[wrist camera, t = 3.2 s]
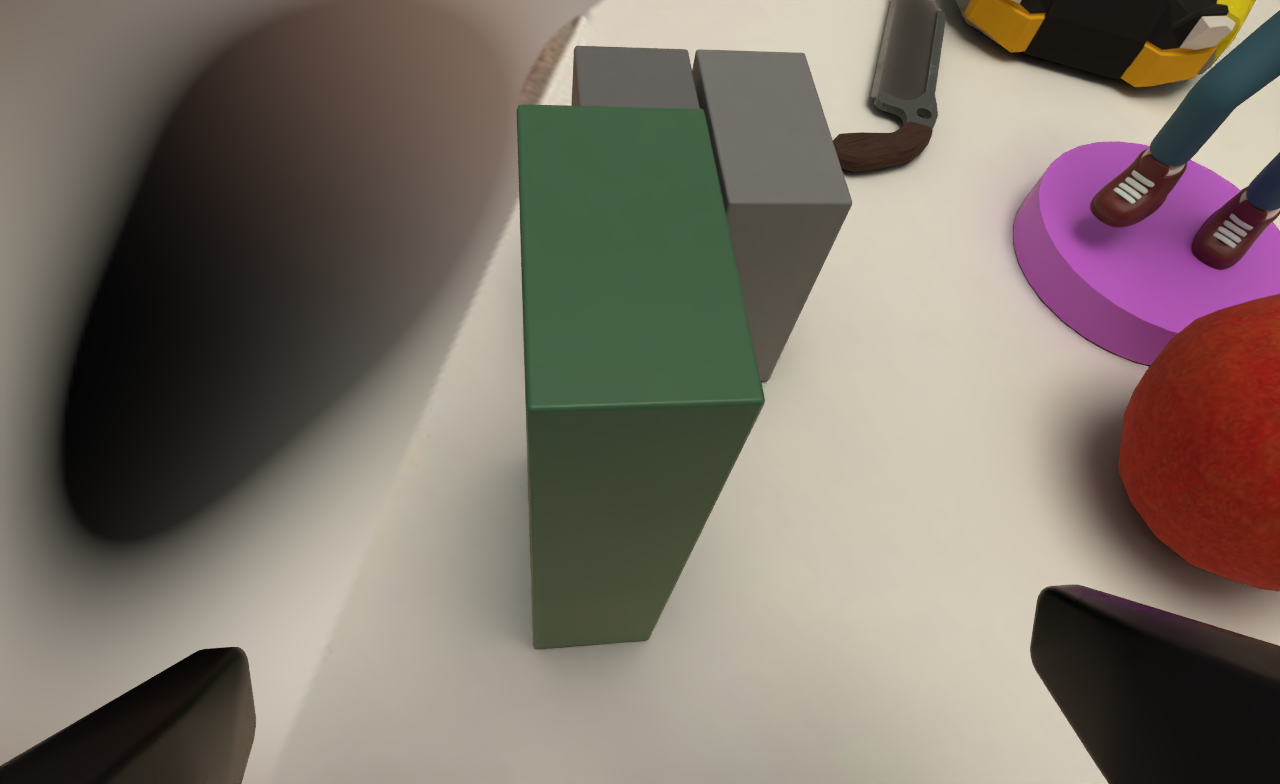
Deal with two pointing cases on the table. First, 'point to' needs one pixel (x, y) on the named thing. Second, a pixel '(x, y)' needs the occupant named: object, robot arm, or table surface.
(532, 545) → the green book
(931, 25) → the knife
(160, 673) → the robot arm
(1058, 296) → the figurine
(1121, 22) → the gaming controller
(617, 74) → the grey books
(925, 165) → the table surface
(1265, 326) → the apple
